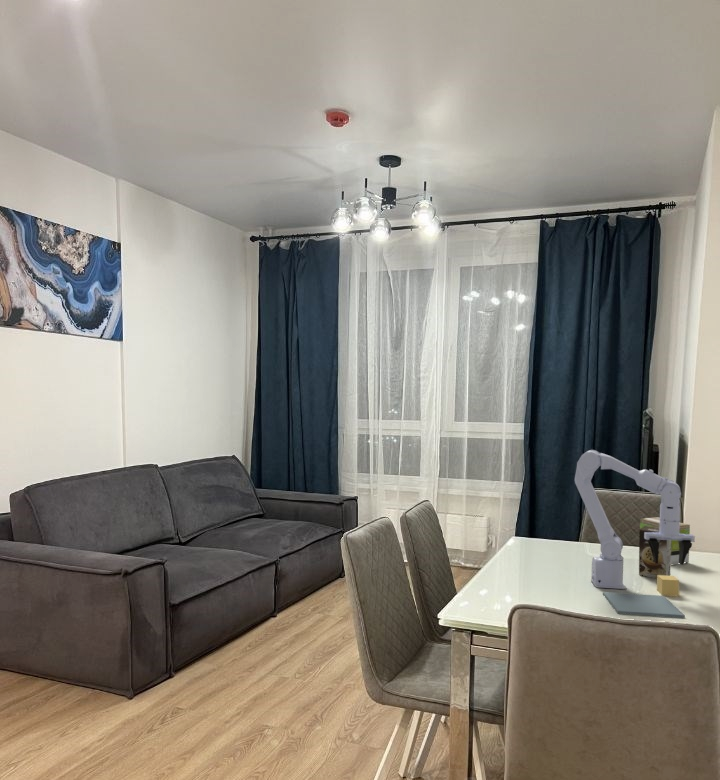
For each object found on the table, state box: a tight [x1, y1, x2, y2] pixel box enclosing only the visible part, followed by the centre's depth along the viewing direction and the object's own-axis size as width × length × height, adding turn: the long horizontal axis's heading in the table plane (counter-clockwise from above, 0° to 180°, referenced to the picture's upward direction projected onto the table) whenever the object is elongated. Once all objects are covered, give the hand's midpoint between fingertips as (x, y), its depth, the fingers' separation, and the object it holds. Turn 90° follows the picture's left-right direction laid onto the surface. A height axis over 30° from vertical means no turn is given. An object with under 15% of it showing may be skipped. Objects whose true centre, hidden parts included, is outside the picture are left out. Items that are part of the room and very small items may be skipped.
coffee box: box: [638, 526, 672, 579], centre depth 229 cm, size 9×6×16 cm
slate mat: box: [602, 591, 686, 619], centre depth 196 cm, size 18×18×1 cm
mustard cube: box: [656, 575, 680, 597], centre depth 209 cm, size 5×5×5 cm
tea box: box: [639, 516, 691, 565], centre depth 253 cm, size 15×10×15 cm, turn 25°
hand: (668, 563), depth 209 cm, fingers open, 7 cm apart
